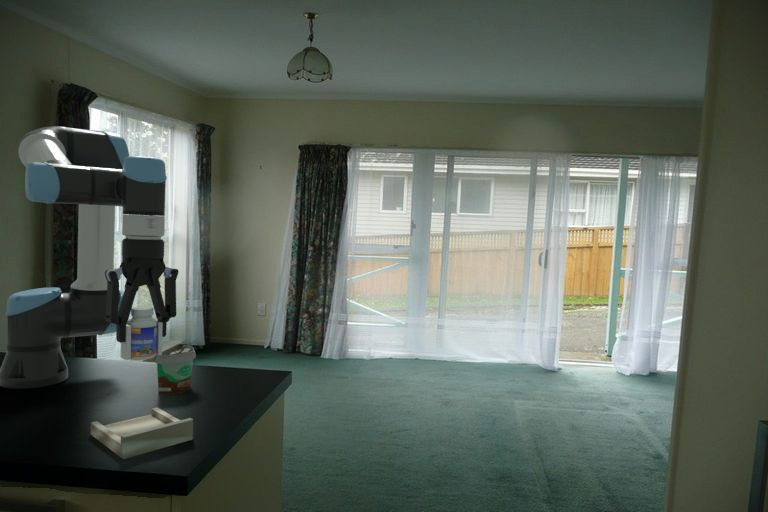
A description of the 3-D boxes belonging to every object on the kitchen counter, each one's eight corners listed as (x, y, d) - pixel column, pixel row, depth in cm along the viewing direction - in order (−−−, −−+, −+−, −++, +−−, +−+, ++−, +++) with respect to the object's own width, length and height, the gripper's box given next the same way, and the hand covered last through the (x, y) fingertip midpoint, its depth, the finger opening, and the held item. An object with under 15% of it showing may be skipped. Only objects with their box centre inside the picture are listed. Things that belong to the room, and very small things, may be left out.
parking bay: (90, 434, 108) (90, 414, 108) (156, 418, 118) (157, 400, 118) (123, 459, 98) (123, 437, 98) (192, 439, 108) (193, 419, 108)
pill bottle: (125, 361, 104) (126, 310, 103) (126, 354, 109) (127, 306, 108) (156, 359, 106) (157, 310, 105) (155, 352, 111) (156, 305, 110)
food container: (177, 398, 131) (178, 357, 130) (154, 395, 132) (155, 355, 132) (204, 384, 143) (205, 346, 143) (183, 381, 144) (184, 344, 144)
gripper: (101, 238, 96) (99, 367, 98) (197, 239, 110) (194, 352, 112) (85, 236, 101) (83, 359, 103) (179, 237, 115) (176, 345, 117)
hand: (141, 355), depth 107 cm, fingers closed on pill bottle, 5 cm apart
